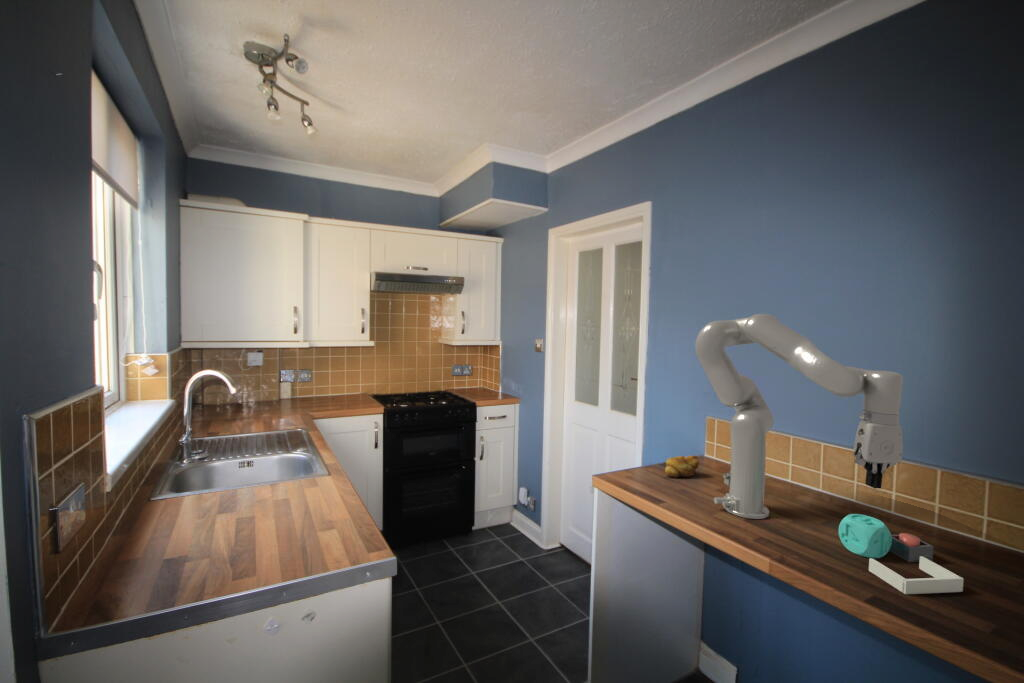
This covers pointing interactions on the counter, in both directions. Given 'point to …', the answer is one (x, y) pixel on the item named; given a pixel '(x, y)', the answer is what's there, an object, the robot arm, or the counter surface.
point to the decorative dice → (865, 535)
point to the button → (909, 539)
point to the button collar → (911, 550)
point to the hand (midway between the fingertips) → (873, 486)
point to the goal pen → (939, 584)
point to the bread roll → (681, 466)
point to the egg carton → (727, 478)
